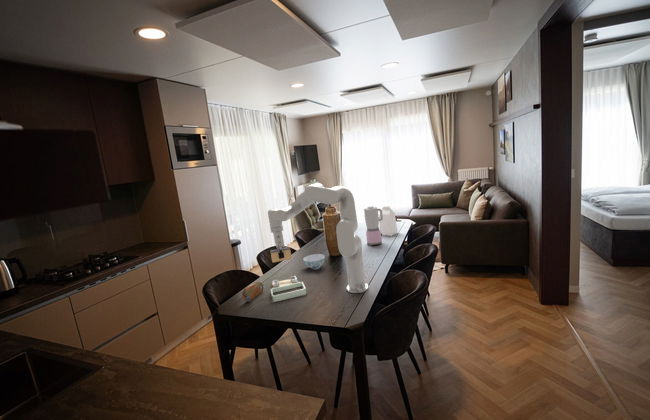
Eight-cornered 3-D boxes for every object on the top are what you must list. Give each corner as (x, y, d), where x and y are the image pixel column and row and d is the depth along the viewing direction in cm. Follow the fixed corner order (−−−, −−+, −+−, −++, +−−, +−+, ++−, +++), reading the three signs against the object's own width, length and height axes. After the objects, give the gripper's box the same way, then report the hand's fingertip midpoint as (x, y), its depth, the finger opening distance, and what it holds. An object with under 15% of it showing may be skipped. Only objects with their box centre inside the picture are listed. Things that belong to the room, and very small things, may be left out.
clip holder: (299, 285, 190) (298, 280, 189) (273, 291, 186) (272, 286, 185) (296, 278, 201) (295, 273, 201) (272, 284, 198) (271, 279, 197)
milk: (380, 235, 281) (377, 207, 276) (386, 231, 289) (383, 205, 285) (391, 235, 273) (389, 207, 269) (397, 232, 281) (395, 205, 277)
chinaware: (323, 271, 209) (322, 260, 207) (302, 272, 212) (300, 261, 211) (327, 263, 223) (326, 253, 222) (307, 264, 226) (306, 254, 225)
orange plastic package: (246, 304, 173) (244, 290, 172) (242, 303, 175) (240, 289, 174) (264, 292, 186) (262, 279, 184) (261, 292, 187) (258, 279, 186)
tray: (306, 294, 176) (306, 288, 175) (273, 302, 171) (272, 296, 171) (303, 286, 187) (302, 281, 186) (271, 294, 183) (270, 288, 182)
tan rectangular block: (291, 258, 189) (289, 247, 188) (272, 262, 187) (270, 251, 186) (291, 257, 192) (289, 246, 191) (272, 261, 190) (270, 250, 188)
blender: (370, 247, 248) (365, 208, 243) (365, 243, 260) (360, 206, 255) (388, 243, 252) (384, 205, 246) (382, 240, 263) (378, 204, 258)
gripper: (284, 230, 179) (289, 260, 182) (281, 225, 195) (285, 252, 198) (271, 232, 178) (276, 262, 180) (269, 227, 193) (274, 255, 196)
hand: (281, 257), depth 189 cm, fingers closed on tan rectangular block, 3 cm apart
